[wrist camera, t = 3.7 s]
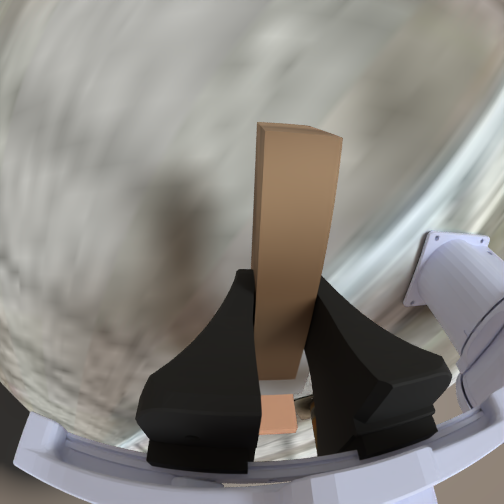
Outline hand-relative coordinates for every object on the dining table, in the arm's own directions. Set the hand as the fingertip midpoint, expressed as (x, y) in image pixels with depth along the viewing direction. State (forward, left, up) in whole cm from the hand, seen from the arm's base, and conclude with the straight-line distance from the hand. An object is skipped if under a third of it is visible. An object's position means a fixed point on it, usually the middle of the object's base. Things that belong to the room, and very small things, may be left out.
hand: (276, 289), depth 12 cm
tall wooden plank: (0, +2, -2) cm, 3 cm away
